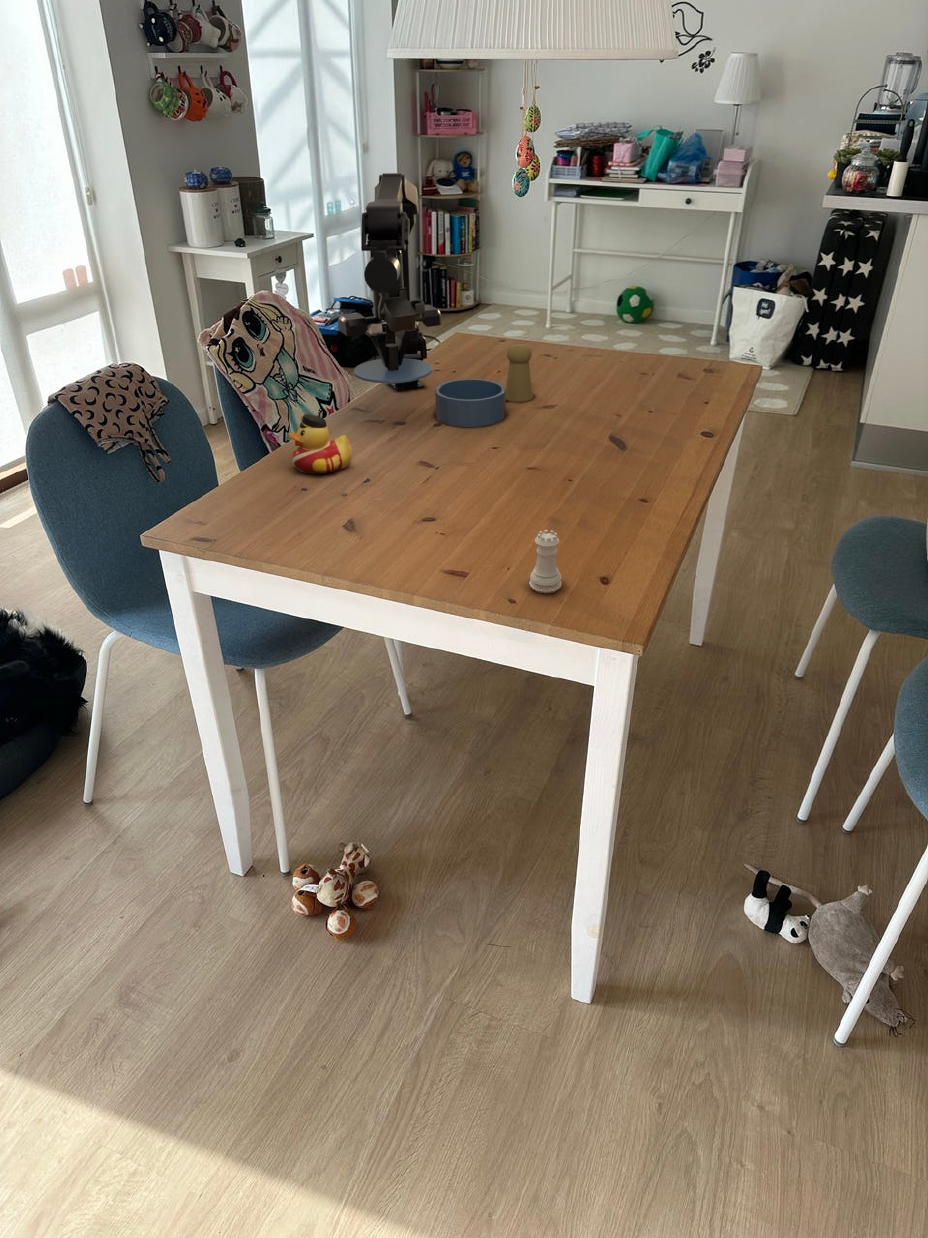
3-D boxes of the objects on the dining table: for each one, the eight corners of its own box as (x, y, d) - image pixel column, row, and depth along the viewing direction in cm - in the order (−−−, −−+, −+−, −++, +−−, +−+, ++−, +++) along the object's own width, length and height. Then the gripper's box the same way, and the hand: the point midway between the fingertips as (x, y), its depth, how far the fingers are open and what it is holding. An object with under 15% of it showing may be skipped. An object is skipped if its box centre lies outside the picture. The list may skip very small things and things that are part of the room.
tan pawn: (522, 403, 185) (523, 350, 179) (499, 398, 188) (499, 346, 183) (538, 395, 189) (539, 344, 184) (514, 390, 193) (515, 339, 187)
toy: (289, 462, 159) (282, 408, 154) (347, 454, 162) (342, 401, 157) (297, 481, 152) (290, 425, 147) (358, 473, 155) (353, 418, 149)
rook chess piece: (529, 577, 122) (531, 526, 118) (561, 578, 122) (564, 527, 118) (528, 594, 119) (530, 541, 114) (561, 595, 118) (564, 542, 114)
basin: (426, 409, 183) (425, 384, 180) (487, 400, 187) (487, 375, 185) (452, 431, 172) (451, 404, 169) (516, 420, 176) (516, 394, 174)
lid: (344, 369, 173) (341, 340, 170) (415, 359, 178) (414, 331, 175) (368, 390, 161) (366, 360, 158) (444, 379, 166) (443, 349, 163)
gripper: (352, 294, 151) (359, 384, 159) (452, 283, 157) (453, 370, 166) (333, 282, 160) (341, 368, 168) (428, 272, 166) (431, 355, 174)
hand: (392, 366), depth 169 cm, fingers closed on lid, 2 cm apart
